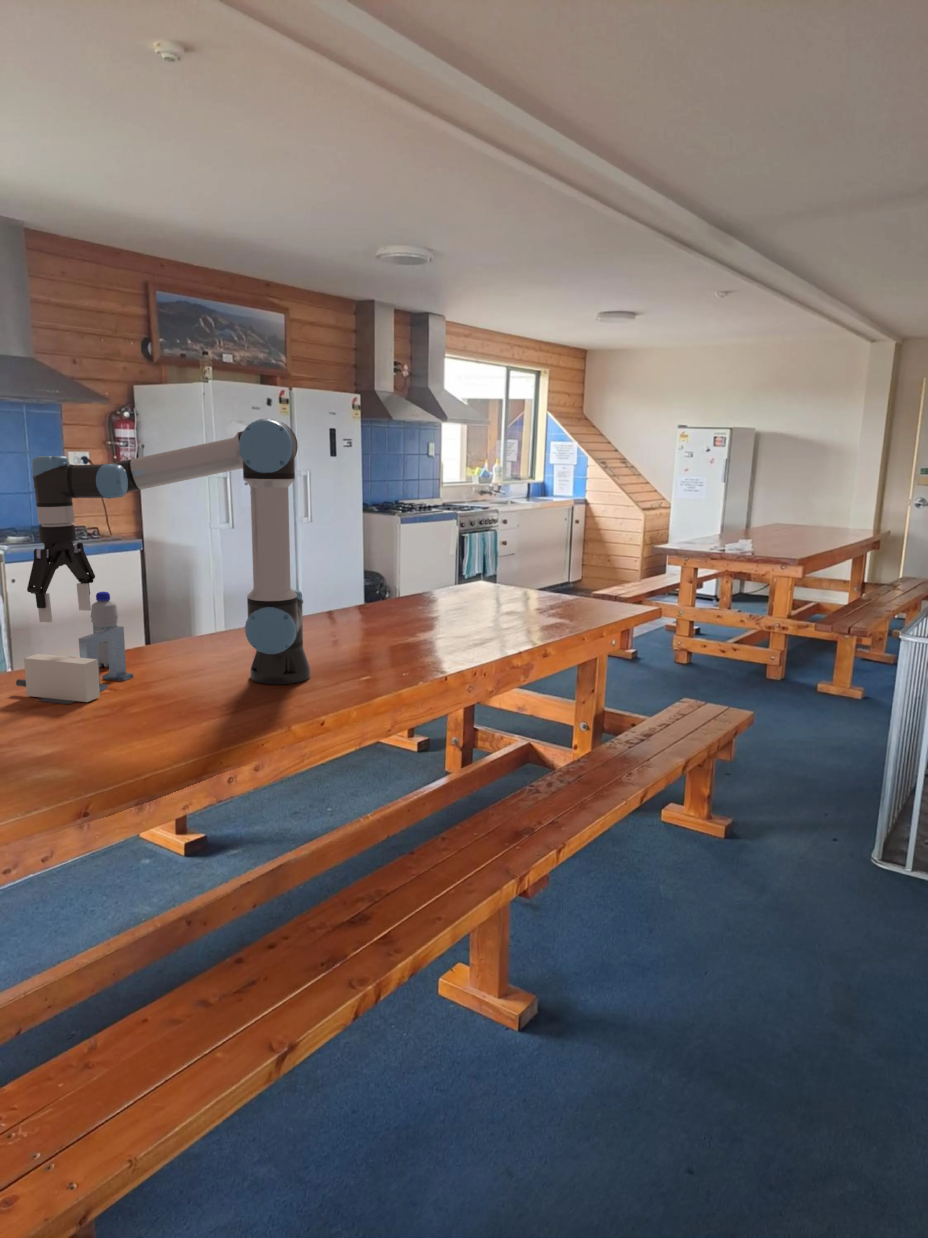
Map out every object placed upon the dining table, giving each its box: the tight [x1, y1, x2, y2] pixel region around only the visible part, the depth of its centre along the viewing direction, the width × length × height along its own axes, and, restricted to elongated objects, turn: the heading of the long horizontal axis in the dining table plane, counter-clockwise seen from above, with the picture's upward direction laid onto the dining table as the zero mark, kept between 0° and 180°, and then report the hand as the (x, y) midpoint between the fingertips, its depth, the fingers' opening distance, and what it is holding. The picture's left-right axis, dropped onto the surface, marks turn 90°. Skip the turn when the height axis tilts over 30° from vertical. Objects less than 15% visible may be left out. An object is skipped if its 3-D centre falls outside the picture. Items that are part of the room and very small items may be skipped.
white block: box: [15, 653, 101, 703], centre depth 195 cm, size 20×4×9 cm, turn 77°
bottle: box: [90, 591, 119, 668], centre depth 222 cm, size 7×7×20 cm
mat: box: [38, 697, 78, 705], centre depth 195 cm, size 8×8×1 cm
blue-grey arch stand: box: [78, 625, 134, 692], centre depth 206 cm, size 6×14×13 cm, turn 167°
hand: (66, 616), depth 196 cm, fingers open, 13 cm apart
